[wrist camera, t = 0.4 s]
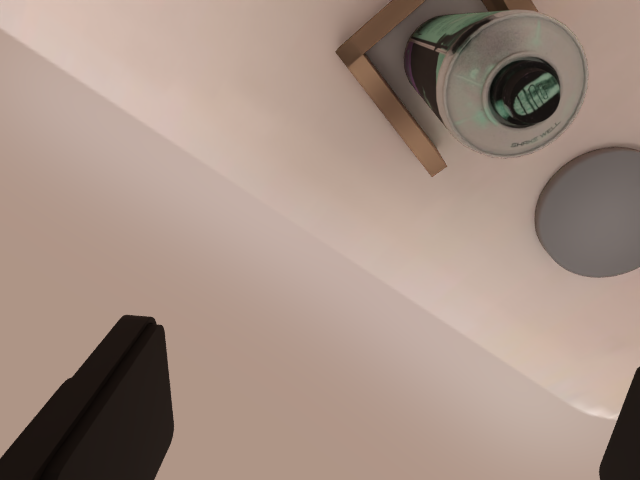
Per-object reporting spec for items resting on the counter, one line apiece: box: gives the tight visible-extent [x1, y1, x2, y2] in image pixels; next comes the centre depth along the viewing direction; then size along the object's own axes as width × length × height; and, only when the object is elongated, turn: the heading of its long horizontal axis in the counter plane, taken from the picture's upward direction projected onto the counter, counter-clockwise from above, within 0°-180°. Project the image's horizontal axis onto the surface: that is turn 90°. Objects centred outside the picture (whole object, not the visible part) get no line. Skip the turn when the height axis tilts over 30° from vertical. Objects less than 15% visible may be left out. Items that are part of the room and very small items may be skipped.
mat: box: [535, 147, 640, 278], centre depth 37 cm, size 10×10×2 cm
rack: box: [336, 0, 538, 177], centre depth 32 cm, size 10×10×5 cm
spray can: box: [404, 10, 589, 158], centre depth 25 cm, size 6×6×20 cm
